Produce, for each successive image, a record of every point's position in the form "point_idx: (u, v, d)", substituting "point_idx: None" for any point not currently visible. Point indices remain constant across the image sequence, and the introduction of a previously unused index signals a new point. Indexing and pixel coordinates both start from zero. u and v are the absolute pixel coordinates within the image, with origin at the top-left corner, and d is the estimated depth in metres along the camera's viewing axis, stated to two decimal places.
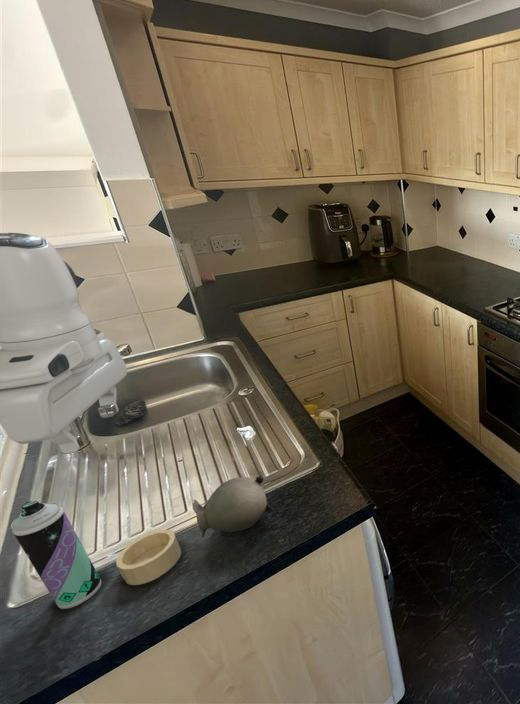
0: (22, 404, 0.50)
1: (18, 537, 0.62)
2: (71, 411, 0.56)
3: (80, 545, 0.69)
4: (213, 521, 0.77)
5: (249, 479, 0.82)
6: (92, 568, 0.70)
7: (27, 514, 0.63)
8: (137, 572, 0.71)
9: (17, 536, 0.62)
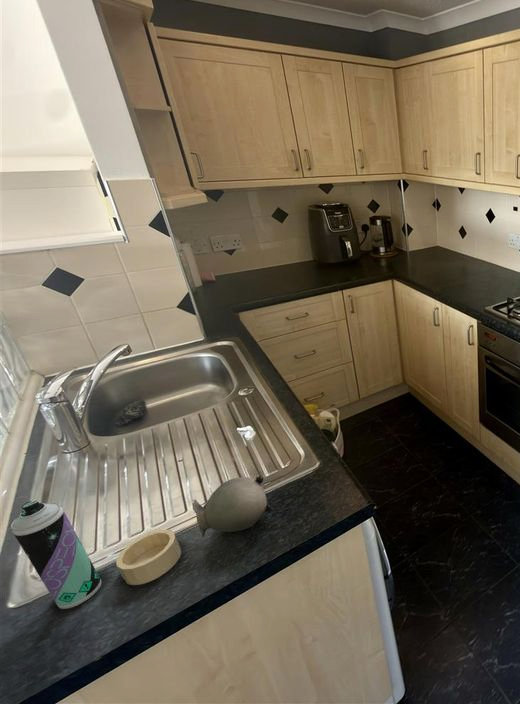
0: None
1: (18, 537, 0.62)
2: None
3: (80, 545, 0.69)
4: (213, 521, 0.77)
5: (249, 479, 0.82)
6: (92, 568, 0.70)
7: (27, 514, 0.63)
8: (137, 572, 0.71)
9: (17, 536, 0.62)
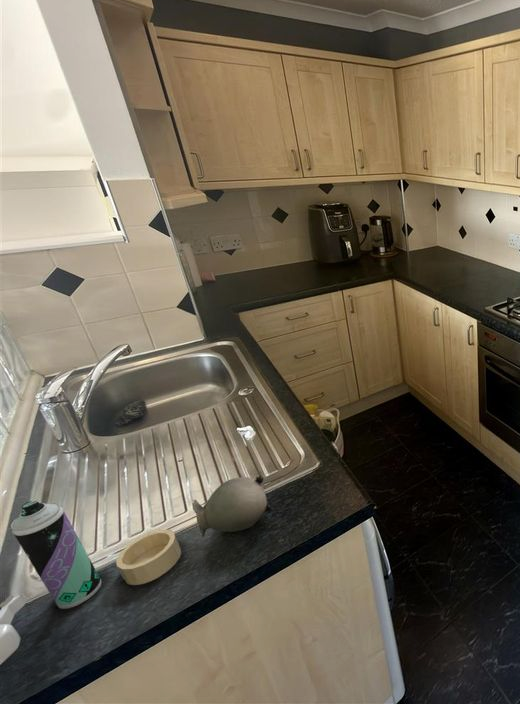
0: None
1: (18, 537, 0.62)
2: None
3: (80, 545, 0.69)
4: (213, 521, 0.77)
5: (249, 479, 0.82)
6: (92, 568, 0.70)
7: (27, 514, 0.63)
8: (137, 572, 0.71)
9: (17, 536, 0.62)
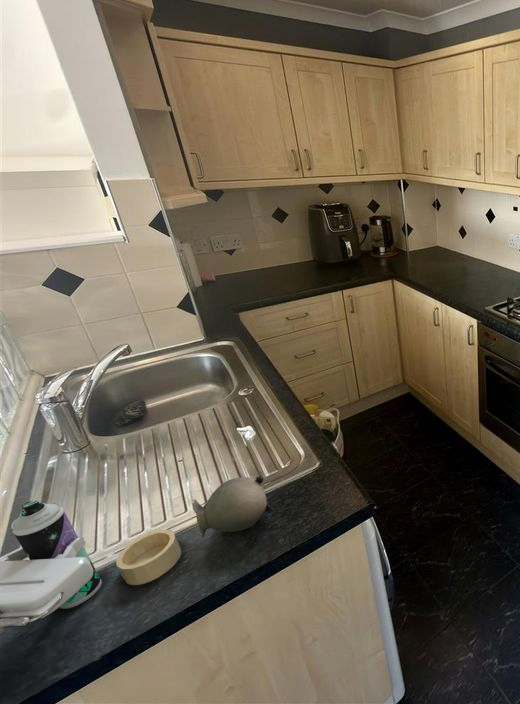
0: None
1: (18, 537, 0.62)
2: None
3: None
4: (213, 521, 0.77)
5: (249, 479, 0.82)
6: None
7: (27, 514, 0.63)
8: (137, 572, 0.71)
9: (17, 536, 0.62)
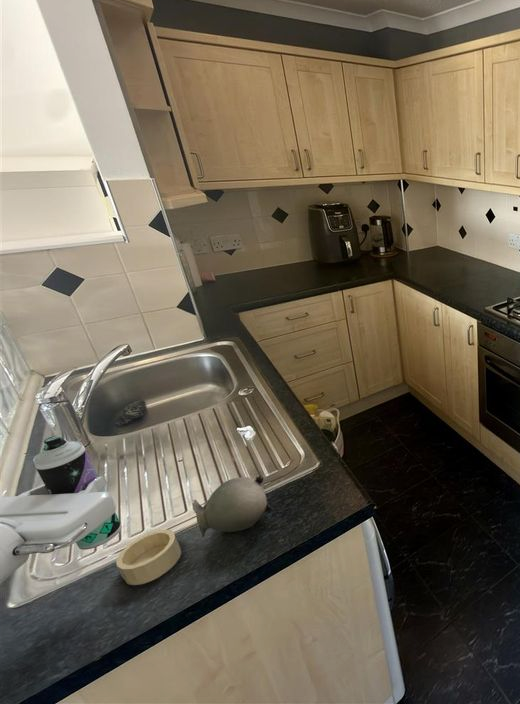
0: None
1: (40, 471, 0.61)
2: None
3: None
4: (213, 521, 0.77)
5: (249, 479, 0.82)
6: None
7: (49, 448, 0.62)
8: (137, 572, 0.71)
9: (40, 470, 0.61)
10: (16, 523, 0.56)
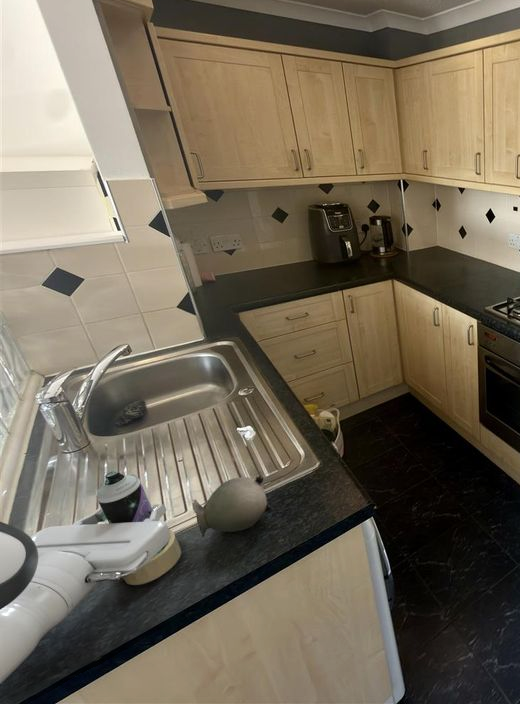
0: None
1: (102, 504, 0.67)
2: None
3: None
4: (213, 521, 0.77)
5: (249, 479, 0.82)
6: None
7: (110, 483, 0.67)
8: (137, 572, 0.71)
9: (102, 503, 0.67)
10: (85, 552, 0.61)
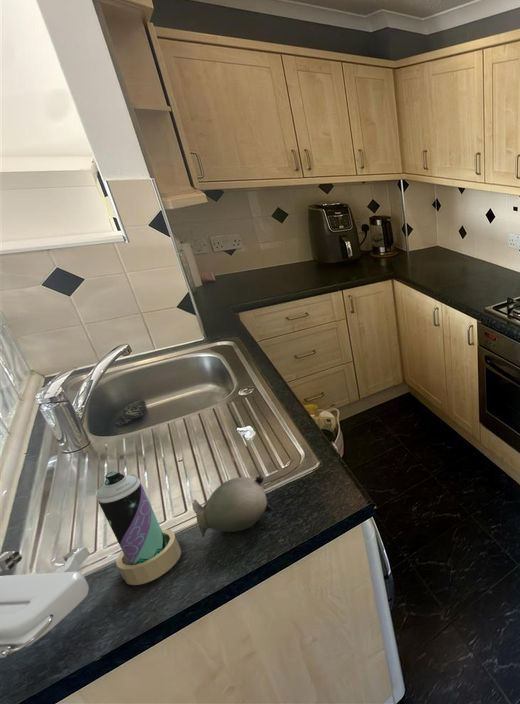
0: None
1: (102, 504, 0.67)
2: None
3: (154, 515, 0.73)
4: (213, 521, 0.77)
5: (249, 479, 0.82)
6: (163, 537, 0.75)
7: (110, 483, 0.67)
8: (137, 572, 0.71)
9: (102, 503, 0.67)
10: None
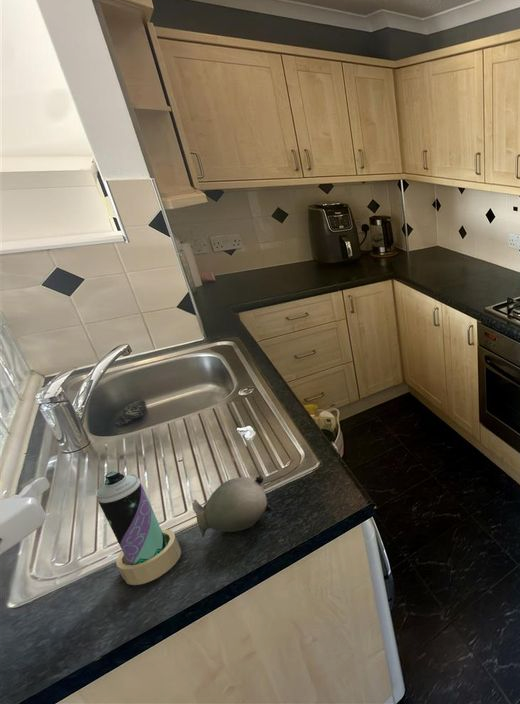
0: None
1: (102, 504, 0.67)
2: None
3: (154, 515, 0.73)
4: (213, 521, 0.77)
5: (249, 479, 0.82)
6: (163, 537, 0.75)
7: (110, 483, 0.67)
8: (137, 572, 0.71)
9: (102, 503, 0.67)
10: None
